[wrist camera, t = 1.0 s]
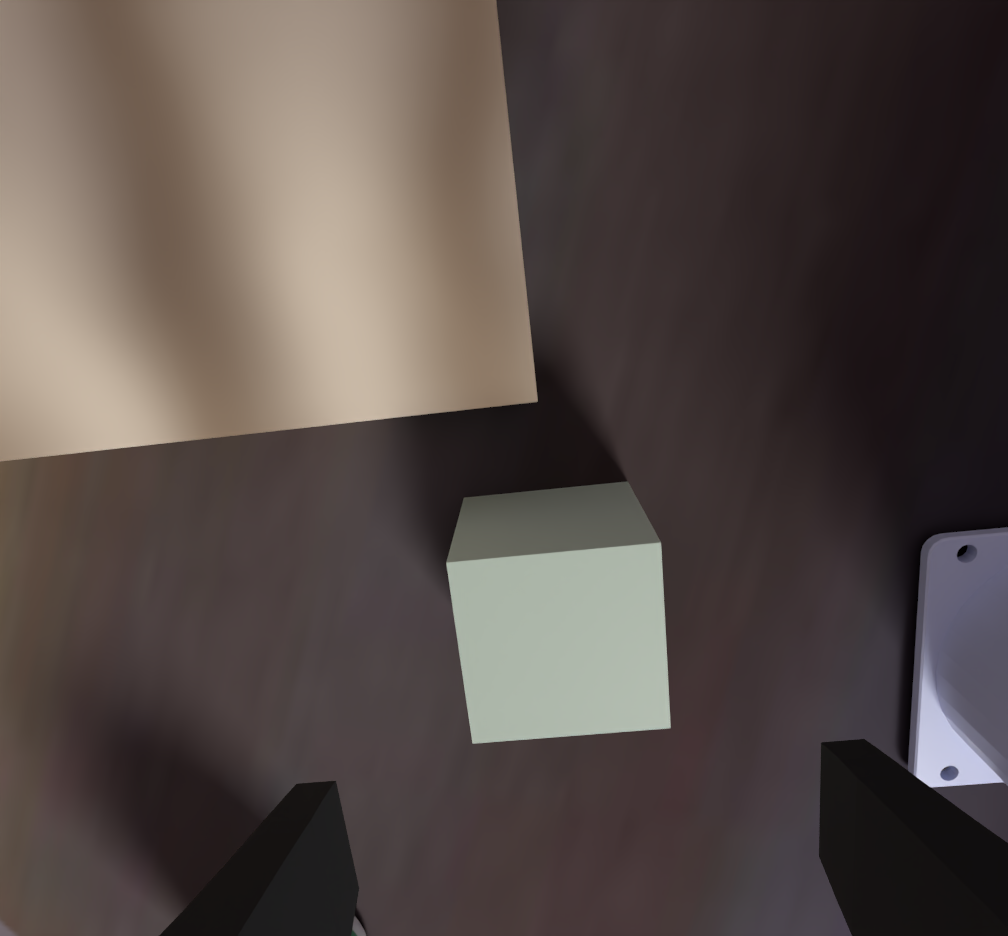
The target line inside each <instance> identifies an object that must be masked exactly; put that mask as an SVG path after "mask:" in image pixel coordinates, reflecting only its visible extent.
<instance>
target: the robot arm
mask: <svg viewBox="0 0 1008 936" xmlns="http://www.w3.org/2000/svg"><path fill="white" fill-rule="evenodd" d="M965 545H967V546H968V548H967V550H966V552H965V553H964V554H963V555H962V556H959V557H957V553H958V550H959V549H960V548H961V547H962V546H965ZM947 766H949V767H948V768H947V769H946V770H943V771H941V770H942V769H944V768H945V767H947ZM998 782H1004V783H1005V784H1006V785H1007V786H1008V527H1005V528H994V529H983V530H973V531H962V532H951V533H941V534H937V535H933V536H932V537H930V538H929V539H928V540H927V541H926V542H925V543H924V545H923V546H922V550H921V558H920V575H919V592H918V608H917V625H916V641H915V658H914V674H913V691H912V707H911V724H910V741H909V757H908V770H906V769H905V768H904V767H902V766H901V765H899V764H898V763H897V762H895V761H894V760H893V759H891V758H890V757H889V756H887V755H886V754H884V753H883V752H882V751H880V750H879V749H878V748H876V747H875V746H873V745H872V744H870V743H869V742H868V741H866V740H865V739H860V740H847V741H835V742H822V743H821V784H820V836H819V857H820V859H821V862H822V864H823V867H824V869H825V872H826V874H827V877H828V879H829V882H830V884H831V887H832V889H833V892H834V894H835V897H836V899H837V901H838V904H839V906H840V908H841V911H842V913H843V915H844V918H845V920H846V922H847V925H848V927H849V929H850V932H851V934H852V936H1008V843H1007V842H1005V841H1004V840H1002V839H1001V838H1000V837H998V836H997V835H995V834H994V833H993V832H991V831H990V830H988V829H987V828H986V827H984V826H983V825H981V824H980V823H979V822H977V821H976V820H974V819H973V818H972V817H970V816H969V815H967V814H966V813H965V812H963V811H962V810H961V809H959V808H958V807H956V806H955V805H954V804H952V803H951V802H950V801H948V800H947V799H946V798H944V797H943V796H941V795H940V794H939V793H937V792H936V791H935V790H933V789H932V788H931V787H943V786H957V785H970V784H984V783H998ZM358 891H359V886H358V882H357V877H356V872H355V868H354V863H353V858H352V854H351V849H350V845H349V840H348V835H347V831H346V826H345V821H344V817H343V812H342V807H341V803H340V798H339V793H338V789H337V784H336V781H327V782H315V783H302V784H296V785H295V786H294V787H293V788H292V790H291V791H290V792H289V793H288V794H287V795H286V796H285V797H284V798H283V800H282V801H281V802H280V803H279V804H278V805H277V806H276V807H275V809H274V810H273V811H272V812H271V813H270V814H269V815H268V817H267V818H266V819H265V820H264V821H263V822H262V823H261V825H260V826H259V827H258V828H257V829H256V830H255V831H254V833H253V834H252V835H251V836H250V837H249V838H248V839H247V841H246V842H245V843H244V844H243V845H242V846H241V847H240V848H239V850H238V851H237V852H236V853H235V854H234V855H233V856H232V858H231V859H230V860H229V861H228V862H227V863H226V864H225V866H224V867H223V868H222V869H221V870H220V871H219V872H218V873H217V874H216V875H215V877H214V878H213V879H212V880H211V881H210V882H209V883H208V884H207V885H206V886H205V888H204V889H203V890H202V891H201V892H200V893H199V894H198V895H197V896H196V898H195V899H194V900H193V901H192V902H191V903H190V904H189V905H188V906H187V907H186V909H185V910H184V911H183V912H182V913H181V914H180V915H179V916H178V917H177V918H176V919H175V920H174V921H173V922H172V923H171V924H170V925H169V926H168V927H167V928H166V929H165V930H164V931H163V932H162V933H161V934H160V935H159V936H351V934H352V928H353V922H354V916H355V909H356V903H357V897H358Z"/></svg>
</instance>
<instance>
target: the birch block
mask: <svg viewBox="0 0 1008 936" xmlns="http://www.w3.org/2000/svg"><path fill="white" fill-rule="evenodd" d="M532 402H538V398H537V388H536V379H535V369H534V359H533V350H532V340H531V331H530V321H529V311H528V302H527V292H526V283H525V273H524V263H523V254H522V244H521V235H520V225H519V215H518V206H517V196H516V187H515V177H514V167H513V158H512V148H511V139H510V129H509V120H508V110H507V100H506V91H505V81H504V72H503V62H502V52H501V43H500V33H499V24H498V14H497V4H496V0H0V461H8V460H17V459H26V458H35V457H44V456H53V455H62V454H71V453H80V452H89V451H98V450H107V449H116V448H126V447H135V446H144V445H153V444H162V443H171V442H180V441H189V440H198V439H207V438H216V437H225V436H234V435H243V434H252V433H261V432H270V431H279V430H288V429H297V428H306V427H315V426H324V425H333V424H342V423H351V422H360V421H369V420H378V419H387V418H396V417H405V416H414V415H423V414H432V413H441V412H450V411H459V410H468V409H477V408H486V407H496V406H505V405H514V404H523V403H532Z"/></svg>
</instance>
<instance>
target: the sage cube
mask: <svg viewBox="0 0 1008 936" xmlns="http://www.w3.org/2000/svg"><path fill="white" fill-rule="evenodd" d="M446 564H447V571H448V578H449V585H450V592H451V599H452V606H453V612H454V619H455V626H456V633H457V640H458V647H459V654H460V660H461V667H462V674H463V681H464V688H465V695H466V702H467V708H468V715H469V722H470V729H471V736H472V743H473V744H474V743H487V742H500V741H512V740H525V739H538V738H551V737H563V736H576V735H589V734H602V733H614V732H627V731H640V730H653V729H665V728H671V726H670V707H669V688H668V668H667V649H666V630H665V611H664V591H663V572H662V553H661V542H660V540H659V538H658V536H657V534H656V533H655V531H654V529H653V527H652V525H651V523H650V522H649V520H648V518H647V516H646V514H645V512H644V511H643V509H642V507H641V505H640V503H639V501H638V500H637V498H636V496H635V494H634V492H633V490H632V489H631V487H630V485H629V483H628V481H627V482H617V483H607V484H597V485H587V486H577V487H567V488H557V489H546V490H536V491H526V492H516V493H506V494H496V495H486V496H476V497H466V498H464V499H463V503H462V507H461V510H460V514H459V518H458V521H457V525H456V529H455V532H454V536H453V540H452V543H451V547H450V551H449V554H448V558H447V562H446Z"/></svg>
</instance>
